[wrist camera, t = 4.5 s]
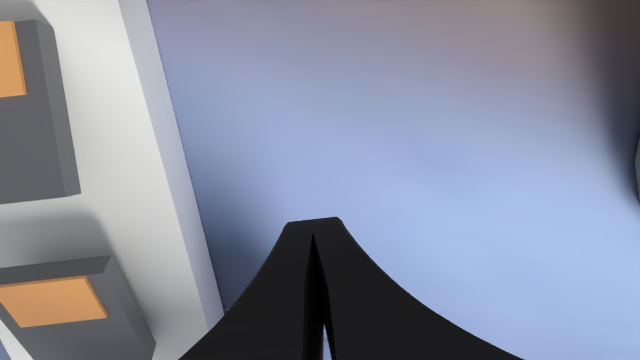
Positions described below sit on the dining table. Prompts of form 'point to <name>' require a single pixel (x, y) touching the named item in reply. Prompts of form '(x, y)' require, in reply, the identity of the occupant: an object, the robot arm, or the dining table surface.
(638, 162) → the decorative lamp
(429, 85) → the dining table surface
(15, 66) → the outlet rocker
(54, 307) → the rocker switch
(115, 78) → the power strip
